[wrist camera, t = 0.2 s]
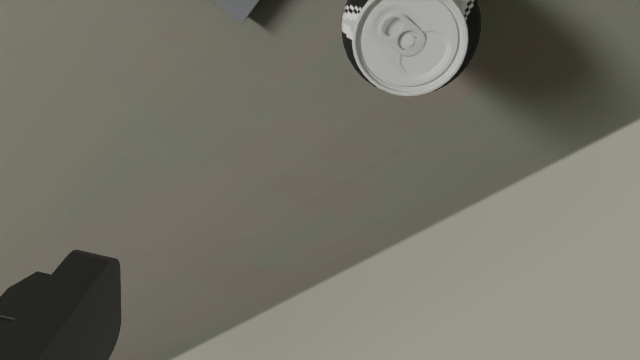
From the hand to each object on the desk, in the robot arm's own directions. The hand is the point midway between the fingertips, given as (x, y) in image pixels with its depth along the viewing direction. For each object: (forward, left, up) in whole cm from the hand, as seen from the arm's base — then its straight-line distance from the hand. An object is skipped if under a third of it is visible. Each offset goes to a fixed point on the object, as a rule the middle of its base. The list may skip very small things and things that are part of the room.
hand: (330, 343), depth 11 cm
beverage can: (-1, 0, -28) cm, 28 cm away
